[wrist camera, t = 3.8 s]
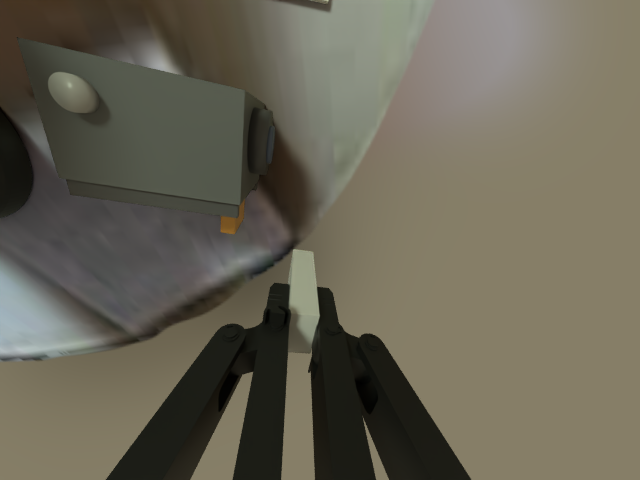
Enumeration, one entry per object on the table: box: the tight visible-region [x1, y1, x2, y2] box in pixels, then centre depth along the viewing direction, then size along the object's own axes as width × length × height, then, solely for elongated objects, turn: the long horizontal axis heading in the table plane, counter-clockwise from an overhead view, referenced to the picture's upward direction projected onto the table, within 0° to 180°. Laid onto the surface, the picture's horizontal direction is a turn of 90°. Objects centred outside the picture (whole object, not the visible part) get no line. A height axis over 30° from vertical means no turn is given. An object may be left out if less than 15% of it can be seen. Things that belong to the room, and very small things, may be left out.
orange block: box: [221, 199, 245, 234], centre depth 20 cm, size 5×4×7 cm
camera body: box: [17, 37, 275, 218], centre depth 18 cm, size 12×8×10 cm, turn 79°
